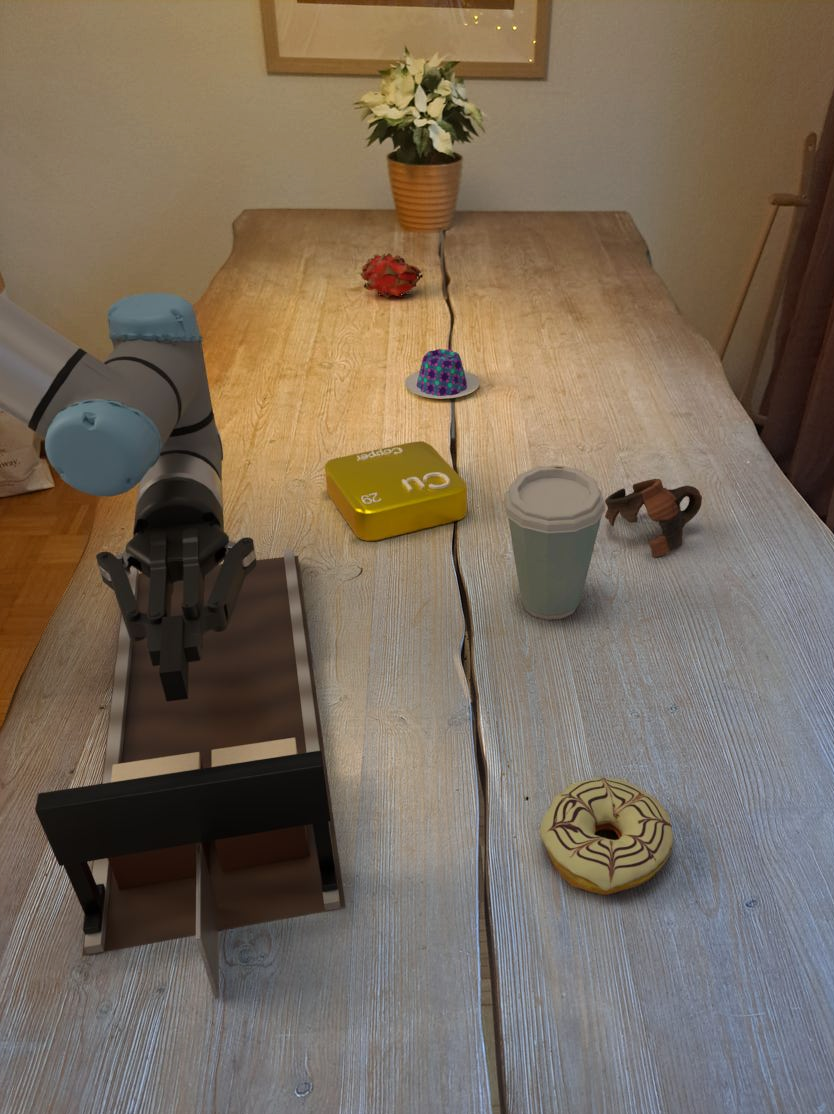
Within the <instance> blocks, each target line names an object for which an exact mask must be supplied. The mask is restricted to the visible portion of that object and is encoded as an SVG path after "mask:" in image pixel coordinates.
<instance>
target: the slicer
mask: <svg viewBox="0 0 834 1114" xmlns="http://www.w3.org/2000/svg"><path fill="white" fill-rule="evenodd" d="M34 811H35V814H36V816H37V818H38V821H39V823H40V825H41V828H42V830H43V832H44V834H45V837H46V839H47V841H48V844H49V846H50V849H51V851H52V852H53V855H54V857H55V860H56V862H57V864H58V866H59V867H62V866H63V868H64V870H65V873H66V875H67V878H68V879H69V882H70V884H71V886H72V888H73V889H72V890H74V891H73V892H74V893H75V896H76V898H77V900H78V902H79V905H80V907H81V909H82V911H83V913H84V915H83V924H82V931H83V933H84V934H85V935H86V934H92V933H97V932H101V929H102V919H103V909H104V899H105V886H104V884H97V885H96V882H95V880H94V877H93V875H92V869H91V867H90V865H89V863H88V862H93V861H94V860H100V859H106V858H112V857H118V856H124V855H130V854H136V853H142V852H148V851H154V850H160V849H166V848H172V847H178V846H184V845H190V844H196V843H202V842H208V841H214V840H220V839H226V838H232V837H238V836H244V835H250V834H256V833H262V832H268V831H274V830H280V829H286V828H292V827H298V826H305V825H311V824H313V830H314V837H315V843H316V849H317V856H318V862H319V868H320V876H321V884H322V891H323V892H327V891H333V890H338V885H337V877H336V870H335V862H334V854H333V847H332V841H331V834H330V826H329V821H331V814H330V807H329V800H328V792H327V785H326V778H325V770H324V763H323V756H322V751H321V750H320V751H313V752H307V753H300V754H294V755H287V756H281V757H274V758H267V759H261V760H254V761H248V762H241V763H235V764H228V765H221V766H215V767H208V768H202V769H195V770H189V771H182V772H175V773H169V774H162V775H156V776H149V777H143V778H136V779H129V780H123V781H116V782H110V783H103V784H101V783H97V784H90V785H84V786H77V787H71V788H64V789H58V790H50V791H45V792H38V793H37V797H36V802H35V809H34ZM84 934H83V935H84ZM195 940H196V944H197V947H198V950H199V953H200V956H201V959H202V963H203V966H204V969H205V973H206V975H207V978H208V982H209V984H210V988H211V991H212V994H213V997H214V999H215V1000H216V999H219V998H220V967H219V966H220V965H219V963H220V962H219V959H220V958H219V955H220V953H219V931H218V903H217V900H216V896H215V893H214V889H213V886H212V882H211V878H210V875H209V871H208V868H207V864H206V860H205V857H204V853H203V850H202V846H201V844H197V864H196V935H195Z"/></svg>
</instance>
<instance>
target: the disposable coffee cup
mask: <svg viewBox="0 0 834 1114" xmlns="http://www.w3.org/2000/svg"><path fill="white" fill-rule="evenodd" d="M502 504H503V510H504V514H505V517H507V519H508V526H509V531H510V532H509V533H510V538H511V547H512V551H513V552H512V553H513V557H514V564H515V570H516V578H517V583H518V589H519V596H520V601H521V605H523V609H524V610H525V611H526V612H527V613H528V614H530V615H531V616H532V617H535V618H537V619H538V618H539V619H542V620H545V621H546V620H547V621H548V620H549V621H550V620H551V621H552V620H562V619H564V618H566V617H569V616H571V615H573V614H574V612H575V611H576V609H577V608H578V606H579V604H580V603H581V601H582V597H583V592H584V590H585V586H586V581H587V577H588V573H589V569H590V566H591V565H590V564H591V561H592V557H593V554H594V553H593V552H594V549H595V545H596V541H597V536H598V532H599V528H600V526H601V525H600V524H601V520H602V517H603V514H605V512H606V508H605V506H606V505H605V504H606V503H605V499H604V497H603V495H602V491H601V489H600V488H599V485H598V482H597V480H595V479H594V478H593V477H592V476H590V475H589V474H587V473H586V472H585V471H583V470H582V469H579V468H575V467H570V466H564V465H540V466H539V465H538V466H535V467H533V468H530V469H529V470H526V471H523V472H522V473H520V474H518V475H517V476H516V478H515V479H514V480H513V482H512V483H511V485H510V486H509V487H508V490H507V491H506V492H505V493H504V494H503V501H502Z"/></svg>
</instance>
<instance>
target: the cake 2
mask: <svg viewBox="0 0 834 1114" xmlns="http://www.w3.org/2000/svg"><path fill="white" fill-rule="evenodd" d="M294 754H298V752H297V746H296V740H295V738H288V739H282V740H275V741H268V742H261V743H255V744H248V745H241V746H235V747H228V748H221V749H214V750H212V767H215V766H221V765H228V764H235V763H241V762H248V761H254V760H261V759H267V758H274V757H281V756H287V755H294ZM215 844H216V848H217V852H218V856H219V859H220V863H221V867H222V870H223V871H228V870H234V869H240V868H246V867H251V866H257V865H263V864H269V863H275V862H280V861H286V860H292V859H298V858H304V857H309V856H310V852H309V842H308V833H307V825H305V826H298V827H292V828H286V829H280V830H274V831H268V832H262V833H256V834H250V835H244V836H238V837H232V838H226V839H220V840H215Z"/></svg>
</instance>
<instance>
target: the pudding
mask: <svg viewBox="0 0 834 1114" xmlns="http://www.w3.org/2000/svg"><path fill="white" fill-rule="evenodd" d="M480 383H481V381H480V379H479V377H478V376H477V375H476V374H474V373H473V372H471V371H469V370H466V369H464V365H463V361H462V357H461V355H460V354H459V353H458V352H456V351H453V350H452V349H442V348H438V349H434V350H428V351H427V352H426V353H425V354H424V355H423V357H422V359H421V363H420V368H419V370H417V371H415V372H412V373H411V374H409V375H408V376H407V377H406V378H405V379H404V386H405V388H406V389H407V390H408V391H409V392H411V393H412V394H415V395H417V396H420V397H423V398H428V399H429V398H430V399H439V400H440V399H454V398H455V399H456V398H460V397H464V396H466V395H467V396H468V395H469V394H471V393H473V392H475V391H476V390H477V389H478V388H479V387H480V385H481V384H480Z"/></svg>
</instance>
